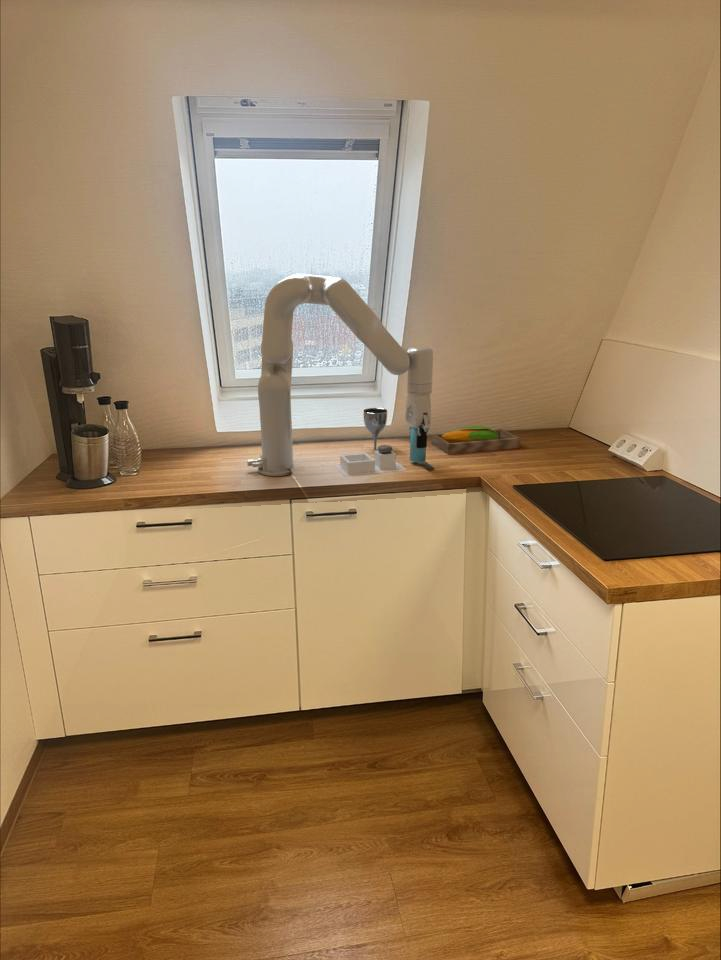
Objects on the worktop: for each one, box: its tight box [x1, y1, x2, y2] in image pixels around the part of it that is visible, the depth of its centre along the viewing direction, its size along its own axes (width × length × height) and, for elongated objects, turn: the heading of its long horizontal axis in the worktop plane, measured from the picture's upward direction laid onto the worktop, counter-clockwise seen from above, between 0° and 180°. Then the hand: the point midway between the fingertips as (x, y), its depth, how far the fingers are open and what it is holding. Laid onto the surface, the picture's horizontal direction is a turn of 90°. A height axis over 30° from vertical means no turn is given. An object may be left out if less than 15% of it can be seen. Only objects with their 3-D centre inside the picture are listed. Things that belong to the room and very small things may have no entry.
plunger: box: [377, 444, 393, 454], centre depth 208 cm, size 4×4×6 cm
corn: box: [441, 425, 499, 443], centre depth 234 cm, size 7×8×20 cm
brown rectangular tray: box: [431, 428, 522, 455], centre depth 236 cm, size 27×14×4 cm, turn 107°
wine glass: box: [363, 407, 388, 451], centre depth 225 cm, size 8×8×15 cm
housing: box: [333, 450, 407, 477], centre depth 207 cm, size 20×12×6 cm, turn 107°
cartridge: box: [409, 423, 427, 463], centre depth 210 cm, size 5×5×12 cm
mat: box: [416, 460, 435, 471], centre depth 212 cm, size 8×8×1 cm
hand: (418, 444), depth 210 cm, fingers closed on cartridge, 5 cm apart
